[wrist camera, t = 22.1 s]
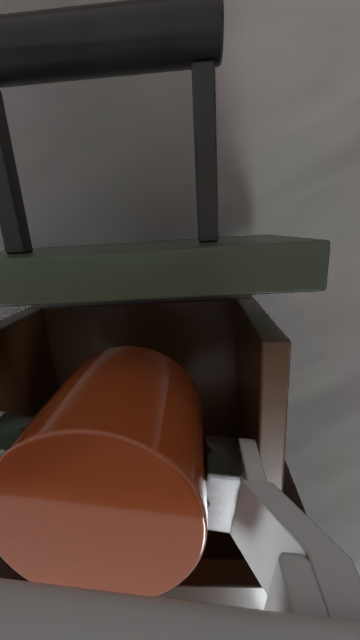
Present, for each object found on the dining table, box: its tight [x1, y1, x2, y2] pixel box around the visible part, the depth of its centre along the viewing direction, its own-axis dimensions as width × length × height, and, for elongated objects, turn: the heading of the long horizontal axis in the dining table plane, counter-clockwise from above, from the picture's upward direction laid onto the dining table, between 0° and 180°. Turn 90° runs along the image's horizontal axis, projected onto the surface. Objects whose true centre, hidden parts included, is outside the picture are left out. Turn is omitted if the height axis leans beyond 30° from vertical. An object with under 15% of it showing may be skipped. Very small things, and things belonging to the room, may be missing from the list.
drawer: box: [0, 0, 330, 559], centre depth 11 cm, size 19×11×6 cm, turn 3°
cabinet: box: [0, 461, 306, 610], centre depth 15 cm, size 15×13×8 cm
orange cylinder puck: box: [0, 346, 208, 597], centre depth 8 cm, size 5×5×4 cm
